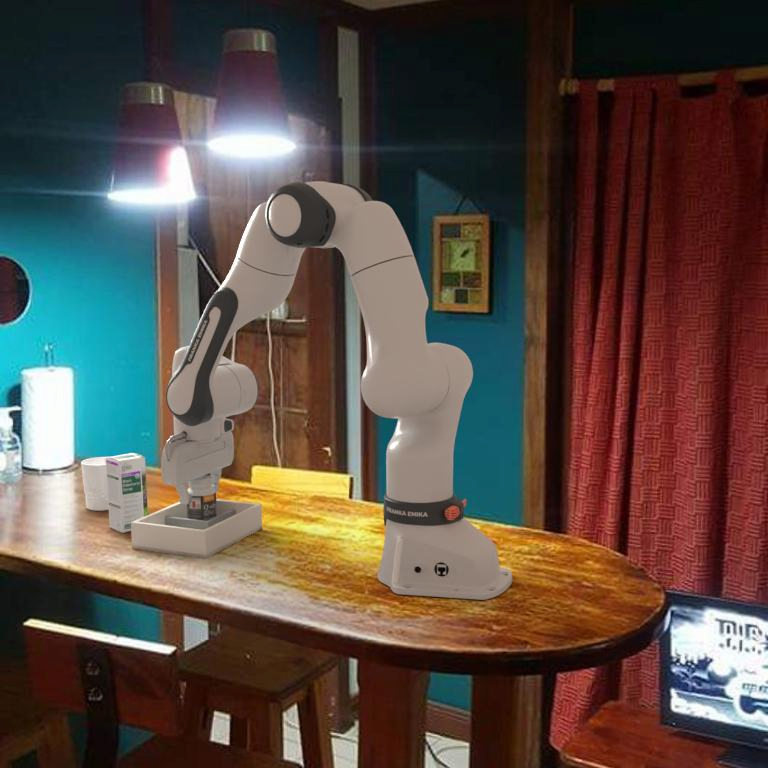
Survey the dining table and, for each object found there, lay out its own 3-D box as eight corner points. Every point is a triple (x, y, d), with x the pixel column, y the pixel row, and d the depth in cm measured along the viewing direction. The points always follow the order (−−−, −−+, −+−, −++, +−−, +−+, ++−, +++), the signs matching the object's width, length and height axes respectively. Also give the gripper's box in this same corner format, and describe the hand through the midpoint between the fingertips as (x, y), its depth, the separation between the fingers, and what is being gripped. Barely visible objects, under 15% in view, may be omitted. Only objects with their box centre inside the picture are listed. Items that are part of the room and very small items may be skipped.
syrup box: (122, 533, 200) (119, 460, 198) (108, 527, 205) (105, 455, 203) (149, 528, 204) (146, 456, 202) (134, 522, 209) (131, 451, 206)
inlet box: (262, 528, 203) (261, 504, 202) (205, 558, 185) (204, 531, 184) (192, 520, 209) (192, 496, 208) (132, 548, 191) (130, 522, 190)
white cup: (129, 505, 222) (127, 459, 220) (101, 513, 215) (99, 466, 214) (104, 500, 226) (101, 455, 224) (75, 508, 219) (73, 462, 218)
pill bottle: (210, 531, 199) (208, 481, 198) (182, 530, 200) (180, 480, 199) (221, 523, 205) (219, 474, 203) (193, 522, 206) (192, 473, 204)
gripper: (179, 438, 189) (182, 512, 191) (238, 419, 207) (240, 487, 209) (151, 436, 191) (154, 509, 193) (211, 417, 210) (213, 484, 212)
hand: (199, 497), depth 201 cm, fingers open, 8 cm apart
